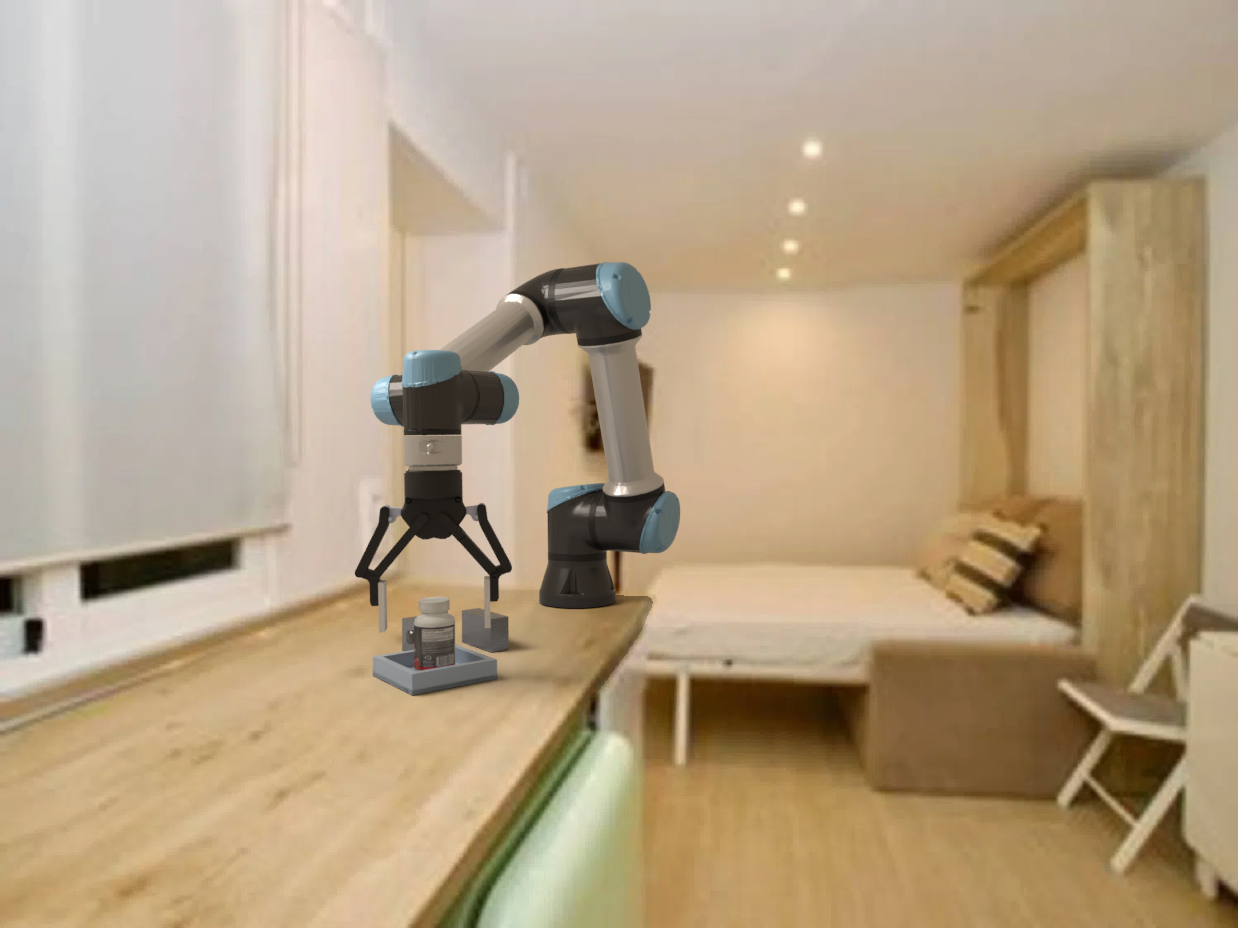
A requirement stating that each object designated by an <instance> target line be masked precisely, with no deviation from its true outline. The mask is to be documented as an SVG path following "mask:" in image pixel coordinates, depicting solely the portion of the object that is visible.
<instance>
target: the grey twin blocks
mask: <svg viewBox="0 0 1238 928" xmlns="http://www.w3.org/2000/svg"><path fill="white" fill-rule="evenodd" d="M417 616H418V615H416V616H408V617H402V618H401V648H402V651H401V652H403V651H410V650H414V620H415V618H416V617H417ZM490 626H491V628H485V608H480V607H478V608H476V607H475V608H470V609H469V608H468V609H462V610H461V642H462V643H464V644H466V645H469V646H471V647H475V648H477V649H480V650H484V651H485V652H489V653H497V652H502V651H509V638H510V637H509V636H510V635H509V632H510V631H509V616H507V615H504V614H501V613H498V612H494V611H492V610H490Z"/></svg>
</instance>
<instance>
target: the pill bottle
mask: <svg viewBox="0 0 1238 928" xmlns="http://www.w3.org/2000/svg"><path fill="white" fill-rule="evenodd" d="M450 604H451V603H450V598H448V597H446V596H431V597H429V596H428V597H423V598H420V599H419V600H418V610H419V612H420V615H416V616H417V617H416V618H415V620H414V667H415V669H414V670H415V671H421V670H427V669H433V668H439V667H444V666H450V665H455V655H456V653H455V644H456V619H455V616H454V615H453V614H450V613H449V610H450V608H451V605H450Z"/></svg>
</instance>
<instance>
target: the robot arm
mask: <svg viewBox="0 0 1238 928" xmlns="http://www.w3.org/2000/svg"><path fill="white" fill-rule="evenodd" d="M648 288H649V287H648V286H647V284H646V282H645V279H644V277H643V276H642V274H641V272H640V271H638V269H637V268H636V267H635V266H633V265H632V264H630V263H629V262H625V261H621V262H620V261H616V262H615V261H613V262H612V261H611V262H610V261H607V262H606V261H605V262H603V261H602V262H600V263H599V262H598V263H592V264H586V265H580V266H572V267H566V268H563V267H561V268H555V269H551V270H548V271H546V272H543V273H541V274H539V275H537V276H535V277H533V278H531V279H529V280H527V281H526V282H524V283H522V284H521V285H519V286H517V287H516V288H515V289H513V290H511V291H510V292H509V293H507V294H506V295H504V296H502V297H501V299H499V301H498V302H497V305H496V308H495V310H494V311H492V312H490V313H489V314H488V315H486V316H485V317H483V318H482V319H480V320H479V321H478V322H476V323H475V324H474V325H472V326H471V327H469V328H468V329H467V330H465V331H463V333H461V334H459V335H458V336H457V337H455V338H454V339H452V340H451V341H449V343H447V344H445V345H444V346H443V347H441V348H440V349H421V350H411V351H409V352H408V353H406V354H405V355H404V358H403V361H402V362H403V363H402V374H391V375H390V376H382V378H381V377H380V378H379V379H378V380H377V381H376V382H375V383H374V385H373V386H372V388H371V392H370V405H371V409H372V412H373V413H374V415H375V417H376V418H377V420H379V421H380V423H382V424H384V425H387V426H400V427H402V428H403V464H404V466H405V467H408V469H407V470H406V471H405V472H404V473H403V477H404V479H403V481H404V482H403V483H404V485H403V486H404V489H403V490H404V492H403V493H404V502H403V503H404V504H403V505H402V507H396V506H395V507H393V506H390V505H388V504H385V505H382V507H380V509H379V516H378V524H377V526H376V528H375V530H374V531H373V534H372V536H371V538H370V540H369V542H368V544H367V546H366V547H365V549H364V550H365V551H364V553H363V554H362V557H361V558H360V560H359V563H358V565H357V567H355V570H354V575H355V577H356V578H358V579H359V578H361V579H363V580H366V581H368V583H369V604H370V606H371V607H378V633H379V634H381V633H386V631H387V629H388V603H387V602H388V597H387V593H388V592H387V588H388V587H387V579H381V577H382V576H383V575H384V573H386V571H387V570H388V569H389V568H390V567H391V565H392V563H394V561H395V560H396V559H397V558H398V556H399V555H400V554H401V553H402V552H403V550H404V549H405V548H406V547H407V546H408V544H409V543H410V542H411V541H412V539H414V538H415V537H417V538H419V539H421V540H431V539H438V540H447V539H448V538H450V537H451V536H453V537H454V538H455V540H456V541H457V542H458V543H460V545H461V546H462V547H463V548H464V549H465V550H466V551H467V553H469V555H470V556H471V557H472V558H473V559H474V560H475V561H476V562H477V564H478V565H479V566H480V567H481V568H482V569H483V570H484V571H485V572H486V573H487V575H484V577H483V591H484V595H483V596H484V597H483V598H484V599H483V601H484V602H483V603H484V610H485V628H491V626H490V611H491V602H492V603H493V602H498V600H499V598H500V594H499V593H500V589H499V588H500V584H499V581H500V580H499V579H500V577H501V576H502V575H506V574H508V573H511V572H512V570H513V566H512V565H513V564H512V562H511V560H510V559H509V557H508V555H507V553H506V551H505V550H504V548H503V546H502V544H501V542H500V540H499V538H498V536H497V534H496V532H495V531H494V528H493V527H492V525H491V523H490V521H489V519H488V512H487V511H488V509H487V506H486V504H485V503H484V502H480V503H478V504H475V505H467V506H466V505H465V504H464V500H463V497H464V496H463V472H462V471H461V469H459V467H458V466H461V465H462V464H463V440H462V439H463V437H462V434H463V433H462V425H486V426H490V425H491V426H494V425H499V424H501V425H502V424H504V423H507V422H508V421H510V420H511V419H512V418H513V417H515V415H516V413H517V411H518V410H519V409H518V408H519V405H520V393H519V389H518V387H517V385H516V383H515V381H514V380H513V379H512V377H509V376H508V375H506V374H504V373H500V372H499V373H498V372H496V371H493V369H494V368H495V367H497V366H498V365H499V364H500V363H502V362H503V361H504V360H506V358H508V357H509V356H511V355H512V354H513V353H514V352H516V351H517V350H518V349H519V348H521V347H522V346H530V345H533V344H535V343H536V342H538V341H539V340H540V339H543V338H545V337H550V336H551V337H552V336H555V335H557V336H558V335H572V334H575V336H576V337H575V338H576V342H577V346H578V348H580V349H581V350H582V351H584V352H585V353H586V354H587V356H588V362H589V368H590V373H591V374H590V375H591V381H592V385H593V392H594V398H595V403H596V410H597V416H598V422H599V427H600V433H601V434H600V435H601V441H602V445H603V450H604V458H605V464H606V469H607V474H608V479H607V481H606V482H596V483H586V484H577V485H571V486H563V487H557V488H553V489H551V490H550V492H549V493H548V495H547V496H548V497H547V509H546V514H547V565H546V568H545V571H544V575H543V578H542V581H541V585H540V588H539V591H538V601H539V604H541V605H543V606H546V607H547V606H548V607H553V608H566V609H567V608H568V609H582V608H583V609H585V608H586V609H587V608H597V607H605V606H609V605H612V604H615V603H616V602H617V595H616V594H617V593H616V592H617V591H616V588H615V585H614V581H613V578H612V574H611V571H610V569H609V566H608V562H607V561H608V560H607V559H608V557H607V556H608V553H607V552H608V551H609V552H621V553H622V552H623V553H637V554H638V553H639V554H642V555H646V554H661V553H663V552H666V551H667V550H668V549H669V548H670V547H671V546H672V544H673V543H674V541H675V539H676V536H677V534H678V531H679V526H680V519H681V504H680V499H679V497H678V496H677V495H676V493H675V492H673V491H670V490H666V487H665V480H664V478H663V476H662V475H660V474H659V473H657V472H656V471H655V467H654V461H653V455H652V449H651V441H650V433H649V428H648V420H647V415H646V410H645V402H644V395H643V389H642V382H641V381H642V380H641V376H640V370H639V369H640V368H639V362H638V356H637V349H636V347H637V346H636V345H637V344H638V343H639V341H640V340H641V339H642V337H643V332H642V329H643V328H644V327H645V326H647V325H648V323H649V321H650V319H651V313H650V312H651V310H652V303H651V302H652V301H651V297H650V296H651V295H650V292H649V289H648ZM466 515H469V516H470V517H471V519H472V521H474V522H478V523H479V526H480V529H481V530H482V532H483V534H484V536H485V538H486V540H487V542H488V544H489V546H490V548H491V549H492V551H493V554H494V555H495V557H496V559H497V561H498V563H499V564H498V565H496V564H494V563H493V562H492V561H491V559H490V558H489V557H488V556H487V555H486V554H485V553H484V552H483V551H482V549H481V548H480V547H479V546H478V544H476V542H475V541H474V540H473V539H472V538H471V537H470V536H469V535H468V534H467V532H466V531H465V529H464V528H462V527H461V525H460V524H461V523H462V522H463V521H464V519H465V517H466ZM398 517H401V518H402V520H403V521H404V522H405V523H406V525H407V526H408V529H407V530H406V531H405V532H404V533H403V535H402V536H401V537H400V538H399V539H398V540H397V542H396V543H395V544H394V545H393V546H392V548H391V549H390V551H388V553H387V554H386V555H385V556H384V557H383V558H382V560H381V561H380V563H379V564H377V566H376V567H375V568H374V569H371V568H370V565H371V563H372V561H373V559H374V558H375V556H376V554H377V551H378V549H379V547H380V545H381V544H382V541H383V539H384V537H385V535H386V533H387V531H388V529H389V527H390V524H393V523H395V522H396V520H397V518H398Z"/></svg>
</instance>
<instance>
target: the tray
mask: <svg viewBox="0 0 1238 928" xmlns="http://www.w3.org/2000/svg"><path fill="white" fill-rule="evenodd" d="M455 653H456V655H455V665H450V666H444V667H439V668H433V669H427V670H421V671H415V670H414V669H415V667H414V650H410V651H403V652H402V651H398V652H391V653H386V654H379V655H373V656H372V676H373V677H375V678H377V679H379V680H381V681H382V682H384V683H387V684H389V685H391V686H392V687H394V688H397V689H398V690H400V691H402V692H404V693H407V694H409V695H410V696H417V695H422V694H426V693H427V694H428V693H432V692H437V691H438V692H439V691H444V690H448V689H452V688H459V687H463V686H469V685H473V684H480V683H483V682H489V681H494V680H498V659H497V658H494V657H492V656H489V655H486V654H483V653H480V652H478V651H474V650H472V649H469V648H467V647H464V646H462V645H458V644H456V643H455Z"/></svg>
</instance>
